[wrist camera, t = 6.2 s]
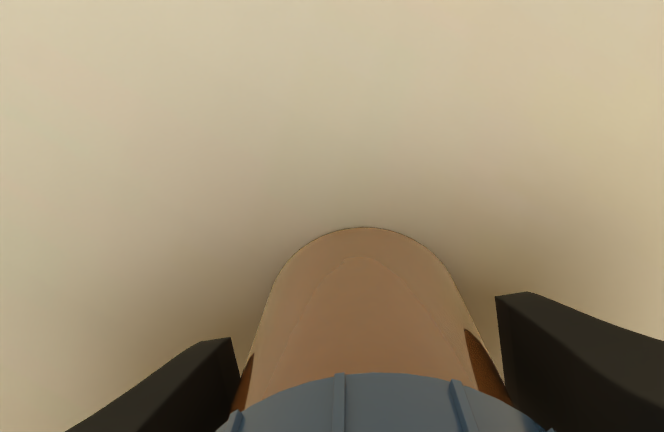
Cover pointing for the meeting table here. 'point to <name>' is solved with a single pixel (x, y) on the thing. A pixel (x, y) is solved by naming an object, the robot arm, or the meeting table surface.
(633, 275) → the meeting table surface
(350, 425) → the lid
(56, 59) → the meeting table surface
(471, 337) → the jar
